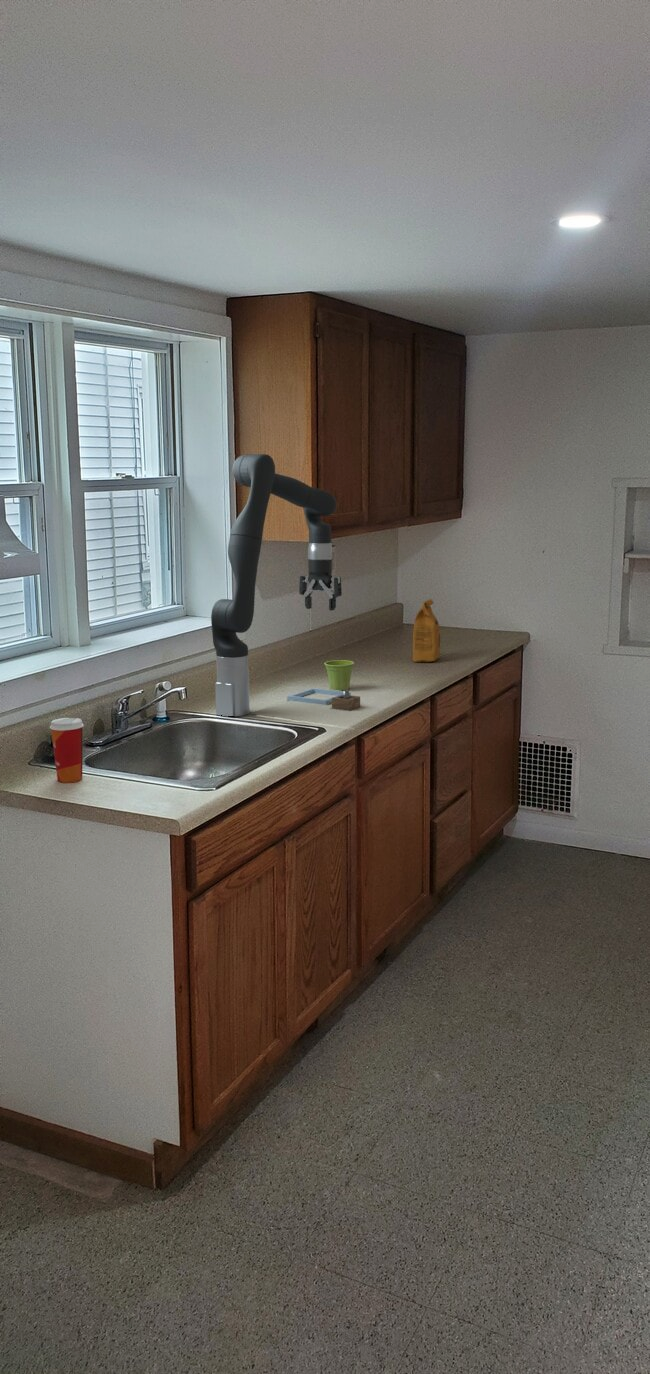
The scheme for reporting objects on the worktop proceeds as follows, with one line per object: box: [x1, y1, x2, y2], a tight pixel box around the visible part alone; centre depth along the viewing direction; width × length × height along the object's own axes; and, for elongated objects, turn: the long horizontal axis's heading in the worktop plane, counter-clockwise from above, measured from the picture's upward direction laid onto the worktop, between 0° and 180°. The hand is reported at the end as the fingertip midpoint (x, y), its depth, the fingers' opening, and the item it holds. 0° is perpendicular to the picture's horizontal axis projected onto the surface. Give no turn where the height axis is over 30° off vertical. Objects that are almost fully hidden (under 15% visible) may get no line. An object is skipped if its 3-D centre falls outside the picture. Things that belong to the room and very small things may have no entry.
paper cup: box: [49, 717, 85, 784], centre depth 254 cm, size 8×8×14 cm
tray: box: [286, 687, 352, 706], centre depth 336 cm, size 14×14×2 cm
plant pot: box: [323, 659, 355, 691], centre depth 353 cm, size 9×9×9 cm
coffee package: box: [412, 598, 441, 663], centre depth 401 cm, size 10×12×22 cm
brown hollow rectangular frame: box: [331, 694, 361, 711], centre depth 324 cm, size 8×6×3 cm
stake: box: [329, 689, 363, 712], centre depth 323 cm, size 7×7×6 cm
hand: (320, 609), depth 346 cm, fingers open, 8 cm apart
